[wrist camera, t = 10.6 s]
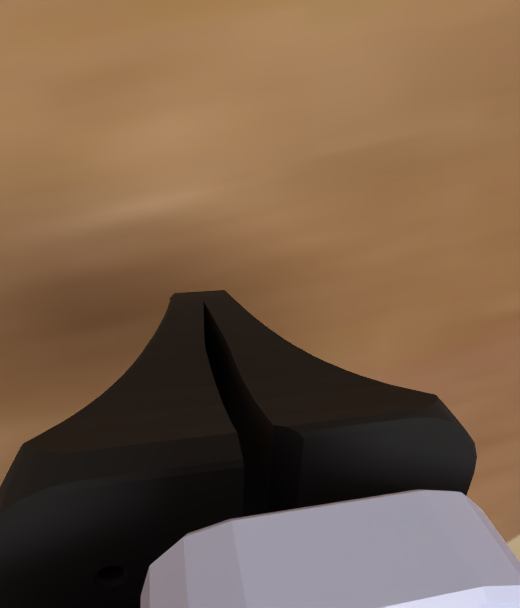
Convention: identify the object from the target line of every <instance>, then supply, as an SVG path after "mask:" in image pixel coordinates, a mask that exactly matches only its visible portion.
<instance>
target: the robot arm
mask: <svg viewBox="0 0 520 608" xmlns="http://www.w3.org/2000/svg"><path fill="white" fill-rule="evenodd" d="M476 459H477V455H476V449H475V443H474V441H473V440H472V438H471V437H470V436H469V434H468V433H467V431H466V430H465V429H464V427H463V426H462V425H461V424H460V422H459V421H458V420H457V419H456V417H455V416H454V415H453V414H452V413H451V411H450V410H449V409H448V408H447V407H446V406H445V404H444V403H443V402H442V401H441V400H440V399H439V398H438V397H437V396H436V395H434V394H429V393H425V392H420V391H416V390H411V389H407V388H402V387H398V386H393V385H390V384H386V383H383V382H379V381H376V380H373V379H370V378H366V377H363V376H360V375H357V374H355V373H352V372H349V371H346V370H344V369H342V368H339V367H337V366H334V365H332V364H330V363H327V362H325V361H323V360H321V359H319V358H317V357H314V356H312V355H311V354H309V353H307V352H305V351H303V350H302V349H300V348H298V347H296V346H294V345H293V344H291V343H289V342H288V341H286V340H285V339H283V338H282V337H280V336H279V335H277V334H276V333H274V332H273V331H272V330H270V329H269V328H267V327H266V326H265V325H263V324H262V323H261V322H260V321H258V320H257V319H256V318H255V317H253V316H252V315H251V314H250V313H249V312H248V311H246V310H245V309H244V308H243V307H242V306H241V305H240V304H239V303H238V302H237V301H236V300H234V299H233V298H232V297H231V296H230V295H229V294H228V293H227V292H226V291H225V290H219V291H203V292H187V293H174V294H173V295H172V297H171V298H170V303H169V306H168V309H167V311H166V313H165V316H164V318H163V320H162V321H161V323H160V325H159V327H158V329H157V331H156V332H155V334H154V336H153V337H152V339H151V340H150V342H149V343H148V345H147V346H146V348H145V349H144V351H143V352H142V353H141V355H140V356H139V357H138V358H137V360H136V361H135V362H134V363H133V365H132V366H131V367H130V368H129V369H128V370H127V371H126V372H125V373H124V375H123V376H122V377H121V378H119V379H118V380H117V381H116V382H115V383H114V384H113V385H112V386H111V387H110V388H109V389H108V390H107V391H105V392H104V393H103V394H102V395H101V396H99V397H98V398H97V399H95V400H94V401H93V402H91V403H90V404H89V405H87V406H86V407H84V408H83V409H82V410H80V411H79V412H77V413H76V414H74V415H73V416H71V417H70V418H68V419H66V420H65V421H63V422H61V423H60V424H58V425H56V426H54V427H53V428H51V429H49V430H47V431H46V432H44V433H42V434H40V435H38V436H37V437H35V438H33V439H31V440H29V441H27V442H25V443H24V444H23V445H22V446H21V448H20V450H19V452H18V453H17V455H16V457H15V459H14V461H13V463H12V465H11V467H10V469H9V471H8V473H7V475H6V477H5V479H4V481H3V483H2V485H1V487H0V608H520V562H519V560H518V559H517V557H516V556H515V555H514V553H513V552H512V551H511V549H510V548H509V546H508V545H507V544H506V542H505V541H504V539H503V538H502V537H501V535H500V534H499V532H498V531H497V530H496V528H495V527H494V526H493V524H492V523H491V521H490V520H489V519H488V517H487V516H486V514H485V513H484V512H483V510H482V509H481V508H480V507H479V506H478V505H476V504H475V503H474V502H473V501H471V500H470V499H469V498H468V497H467V496H466V495H467V492H468V489H469V486H470V483H471V480H472V477H473V474H474V470H475V465H476Z"/></svg>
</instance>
